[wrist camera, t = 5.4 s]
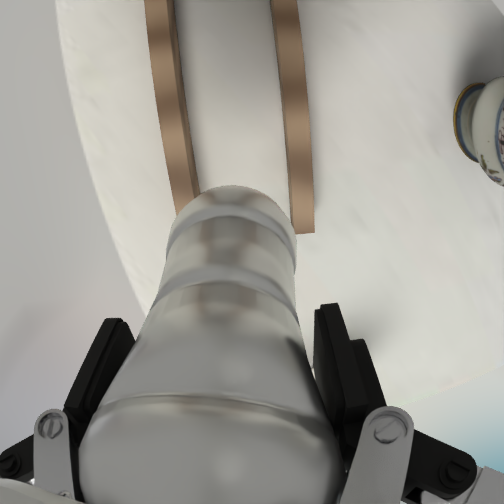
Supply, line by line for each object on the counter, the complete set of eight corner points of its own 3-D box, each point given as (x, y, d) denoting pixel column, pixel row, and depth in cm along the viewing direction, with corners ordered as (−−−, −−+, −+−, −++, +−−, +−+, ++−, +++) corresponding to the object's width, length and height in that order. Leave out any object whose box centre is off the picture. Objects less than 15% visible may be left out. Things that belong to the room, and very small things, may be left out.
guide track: (151, -22, 21) (131, -41, 15) (285, -40, 20) (291, -65, 15) (188, 232, 34) (176, 260, 29) (309, 220, 33) (320, 247, 28)
